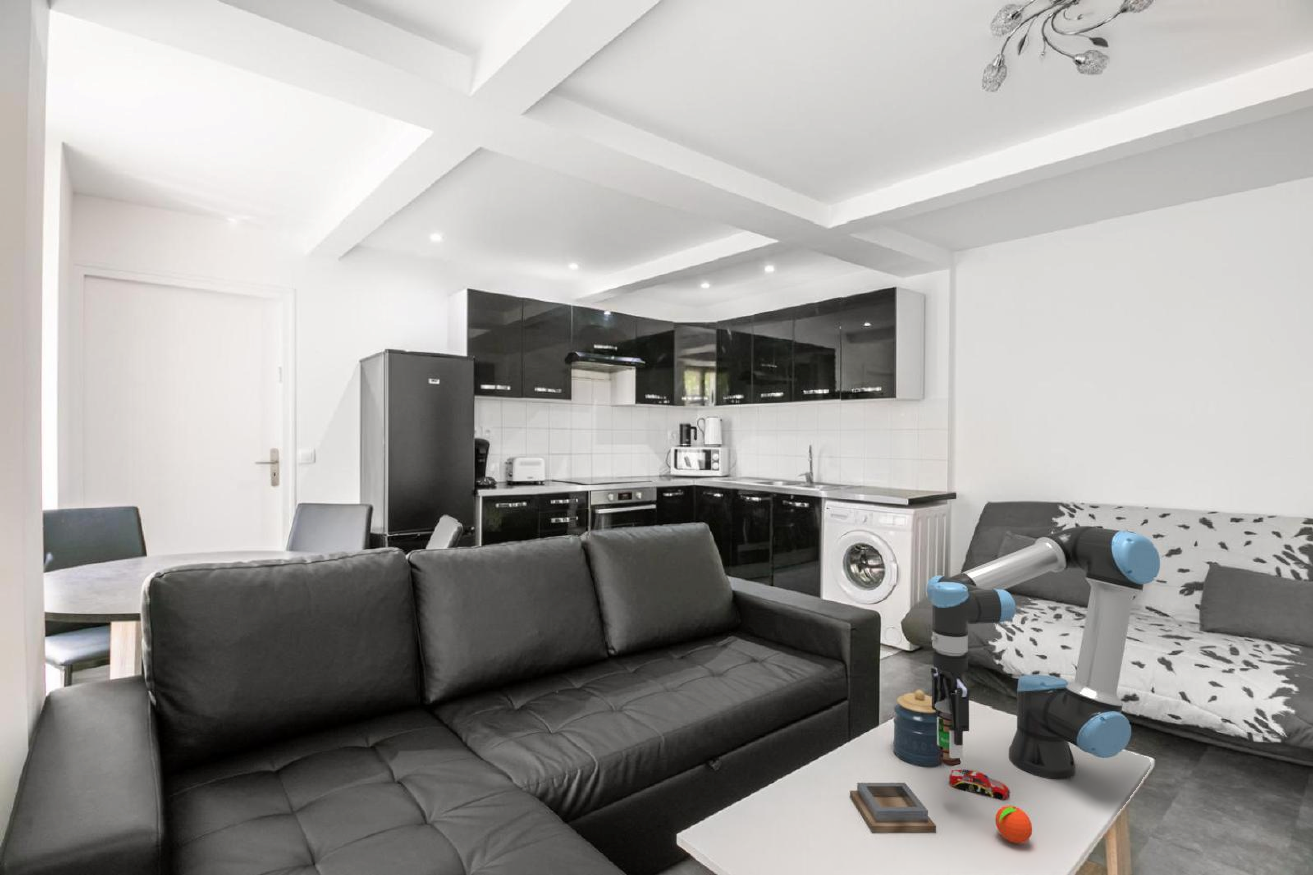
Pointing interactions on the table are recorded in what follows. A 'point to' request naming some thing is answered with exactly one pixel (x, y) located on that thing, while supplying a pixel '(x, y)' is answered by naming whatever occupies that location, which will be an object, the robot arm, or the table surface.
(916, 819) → the socket collar
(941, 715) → the shock absorber
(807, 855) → the table surface
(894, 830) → the plate
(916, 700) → the canister
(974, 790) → the race car
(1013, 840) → the clementine
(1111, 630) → the robot arm
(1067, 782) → the table surface
